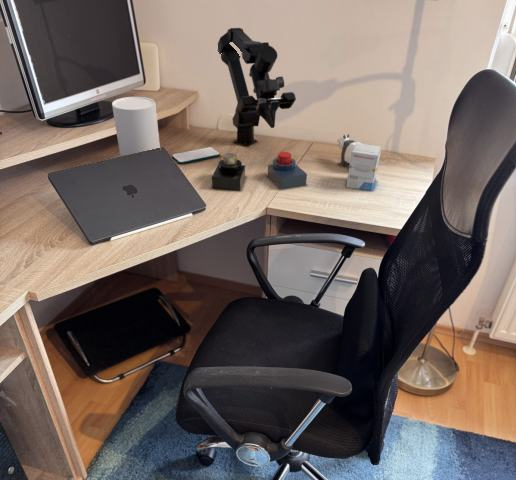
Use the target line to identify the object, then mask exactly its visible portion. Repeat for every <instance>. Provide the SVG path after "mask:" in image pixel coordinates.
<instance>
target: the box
mask: <svg viewBox="0 0 516 480" xmlns="http://www.w3.org/2000/svg"><path fill="white" fill-rule="evenodd" d="M296 163H297V162H296V160H295V159H294V158H291V163H290V164H287V165H284V164H279V163H278V157H276V158H274V159H273V160H272V163H271V164H267V178H269V179H270V180H271V181H272V182H273V183H274V184H275V185H276V187H278V188H279V189H280V190H288V189H293V188H299V187H300V188H301V187H305V186H307V181H308V180H307V179H308V173H306V172H305V171H304V170H303V169H302V168H300V166H299V165H297V164H296Z"/></svg>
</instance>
